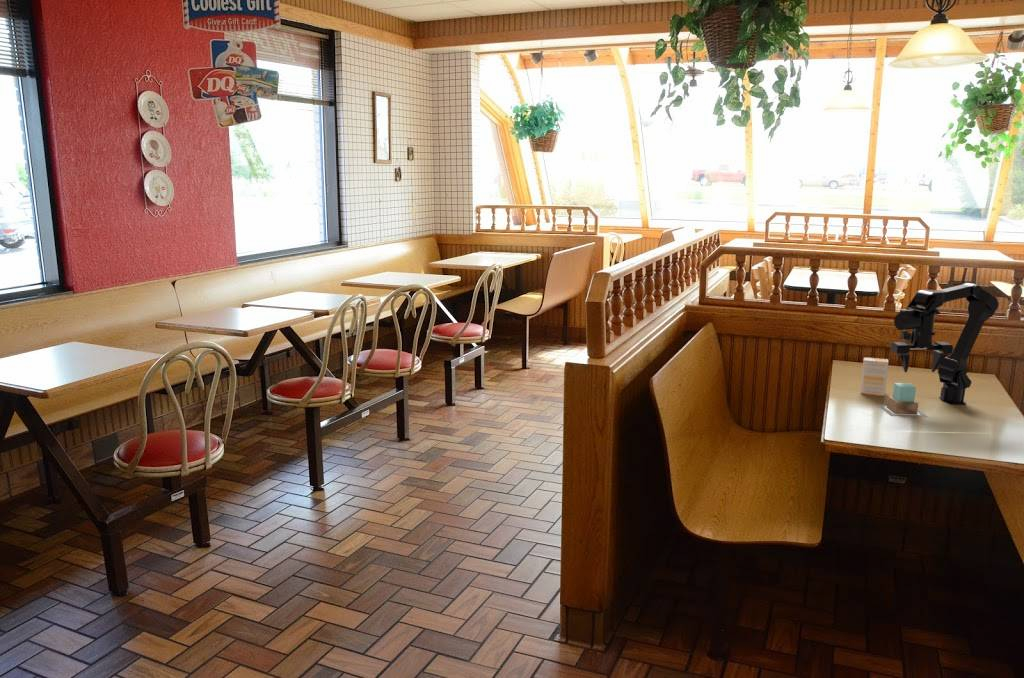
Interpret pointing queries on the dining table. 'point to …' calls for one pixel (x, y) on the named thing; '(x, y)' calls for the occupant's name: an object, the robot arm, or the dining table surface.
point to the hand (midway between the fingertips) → (919, 372)
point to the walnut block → (902, 406)
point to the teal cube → (904, 392)
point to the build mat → (891, 413)
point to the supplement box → (874, 376)
